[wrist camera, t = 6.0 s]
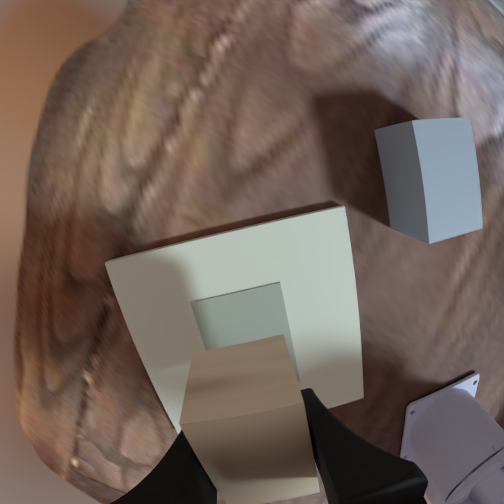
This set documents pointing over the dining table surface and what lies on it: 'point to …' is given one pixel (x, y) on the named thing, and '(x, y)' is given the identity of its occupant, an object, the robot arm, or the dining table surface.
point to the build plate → (248, 302)
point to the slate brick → (431, 178)
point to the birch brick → (249, 422)
